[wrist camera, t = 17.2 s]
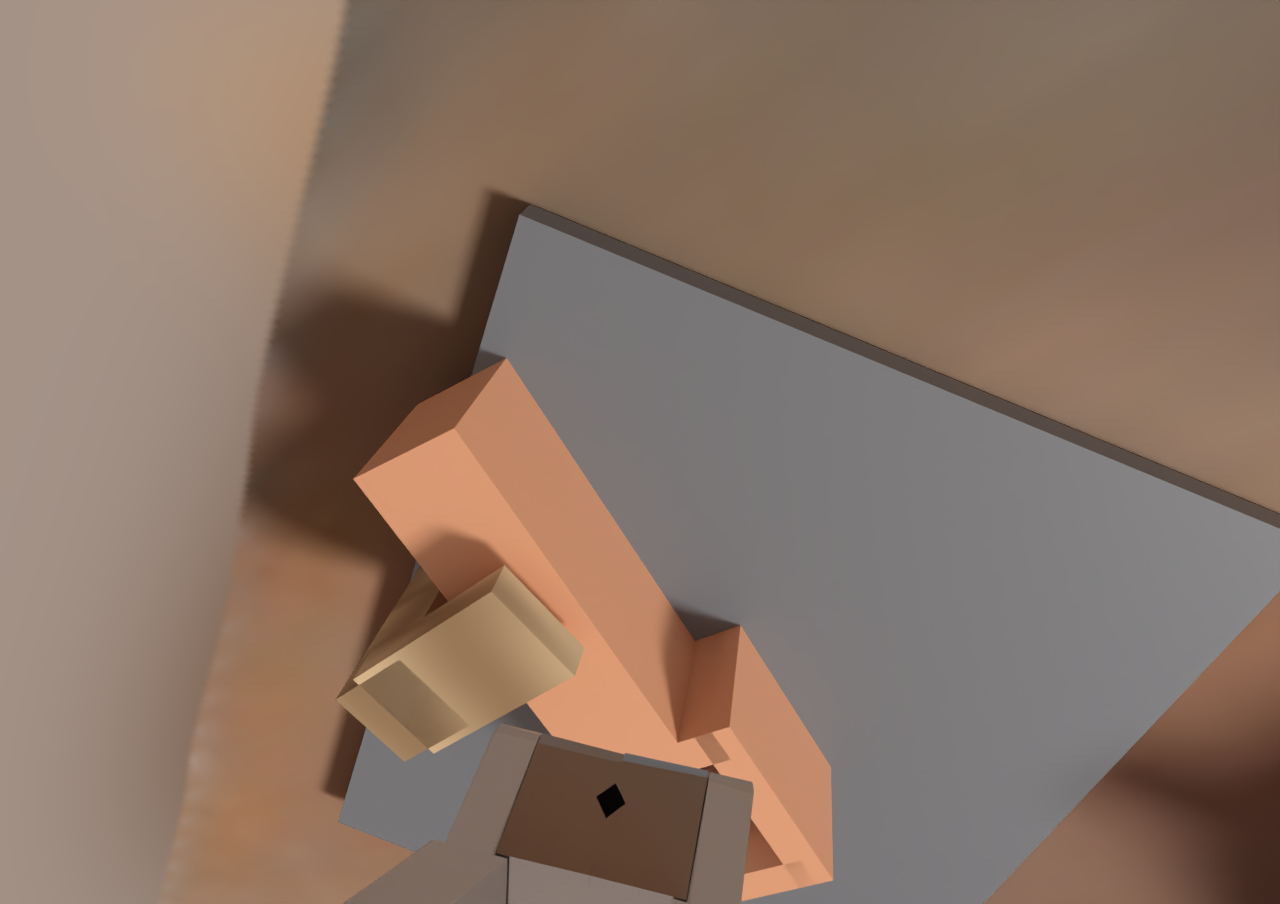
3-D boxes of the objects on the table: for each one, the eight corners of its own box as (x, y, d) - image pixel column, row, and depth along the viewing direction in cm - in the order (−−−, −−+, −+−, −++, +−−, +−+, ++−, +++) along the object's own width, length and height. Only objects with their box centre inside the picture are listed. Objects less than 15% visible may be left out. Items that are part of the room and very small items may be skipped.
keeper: (489, 605, 29) (409, 766, 23) (427, 543, 28) (329, 694, 23) (626, 520, 27) (574, 676, 21) (562, 449, 26) (491, 591, 20)
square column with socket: (830, 767, 29) (833, 880, 25) (664, 813, 31) (645, 923, 27) (554, 332, 23) (508, 400, 20) (375, 426, 25) (306, 502, 22)
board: (530, 204, 23) (519, 214, 22) (1303, 524, 23) (1321, 546, 23) (349, 800, 35) (337, 822, 34) (864, 1000, 35) (866, 1027, 35)
